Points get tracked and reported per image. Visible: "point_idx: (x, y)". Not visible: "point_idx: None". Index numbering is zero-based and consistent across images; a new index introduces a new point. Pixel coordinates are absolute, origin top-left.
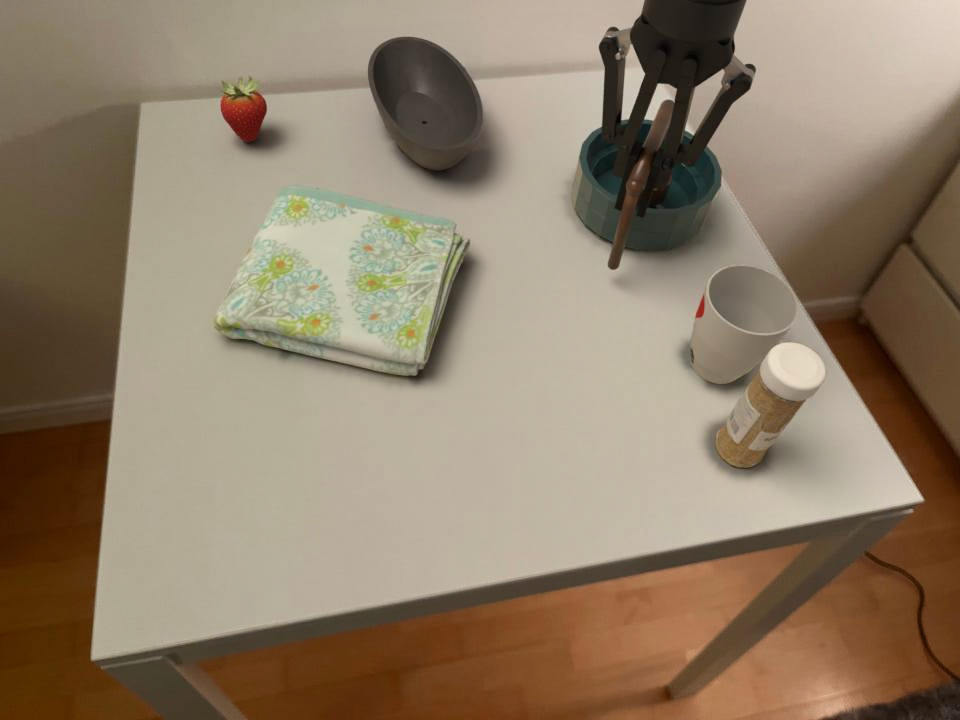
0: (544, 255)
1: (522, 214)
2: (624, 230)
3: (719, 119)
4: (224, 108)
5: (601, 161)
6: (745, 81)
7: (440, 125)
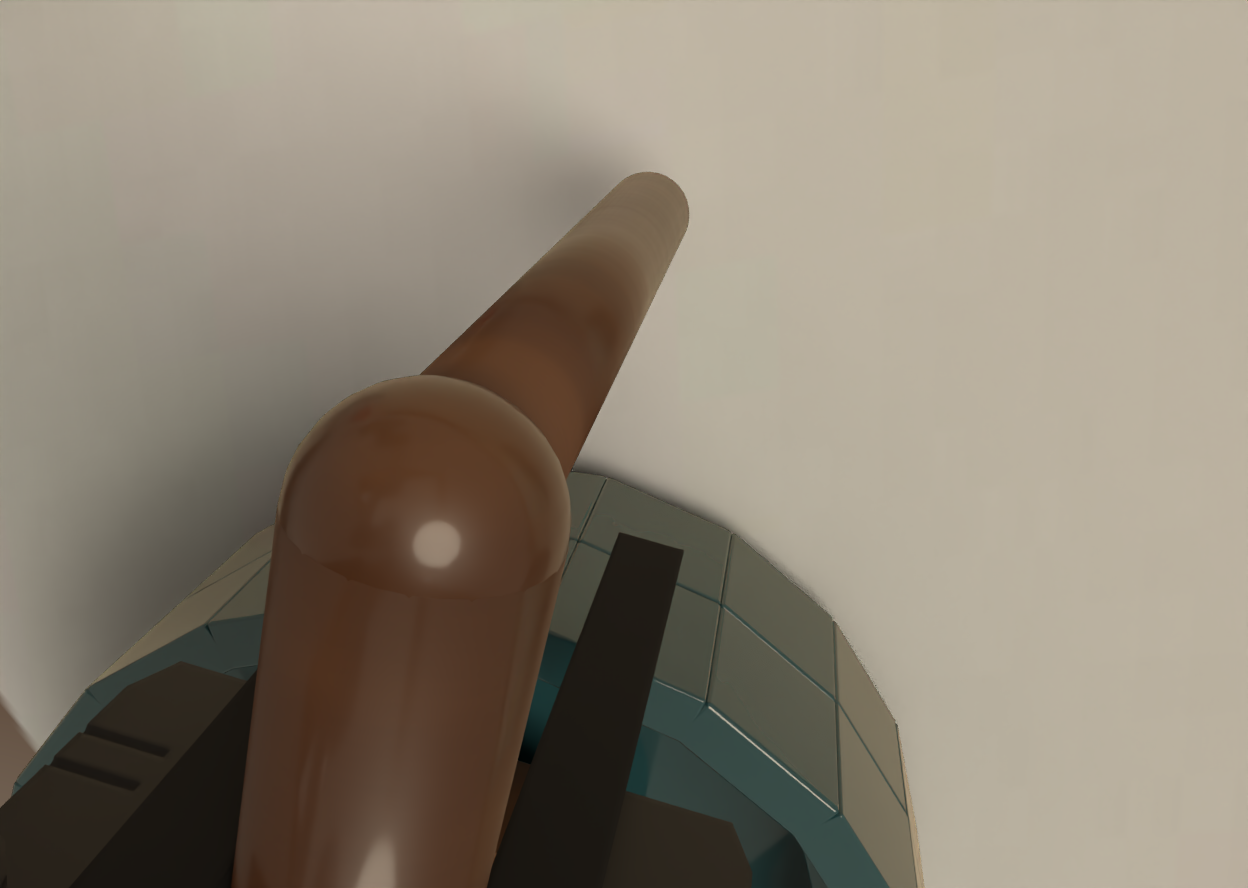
0: (1094, 346)
1: (1227, 664)
2: (574, 245)
3: None
4: None
5: None
6: None
7: None
